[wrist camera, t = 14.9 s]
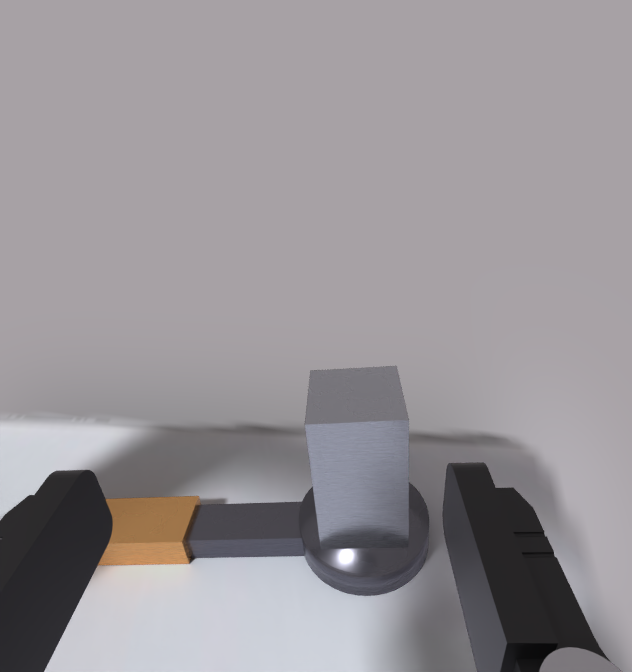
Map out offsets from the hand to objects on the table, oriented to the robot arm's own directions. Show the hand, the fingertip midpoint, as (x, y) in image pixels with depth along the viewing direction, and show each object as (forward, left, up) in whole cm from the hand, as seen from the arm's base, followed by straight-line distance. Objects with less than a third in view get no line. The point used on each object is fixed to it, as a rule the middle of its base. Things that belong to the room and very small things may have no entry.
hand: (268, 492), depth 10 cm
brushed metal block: (+2, +13, -15) cm, 20 cm away
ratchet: (-6, +12, -17) cm, 22 cm away
